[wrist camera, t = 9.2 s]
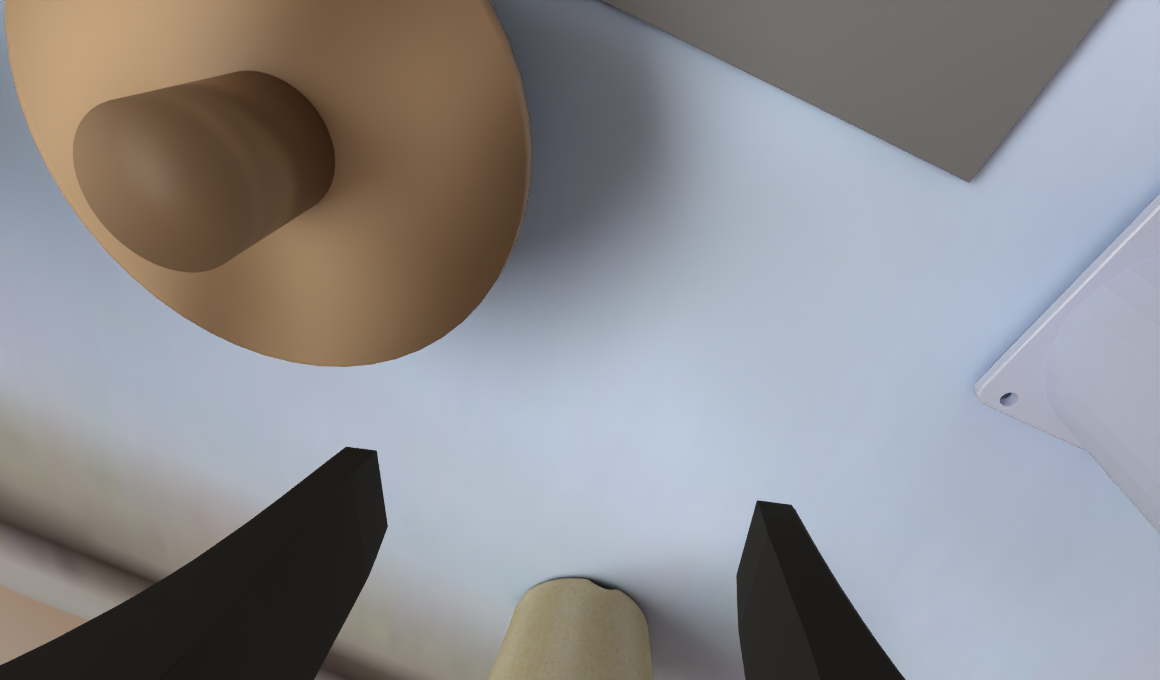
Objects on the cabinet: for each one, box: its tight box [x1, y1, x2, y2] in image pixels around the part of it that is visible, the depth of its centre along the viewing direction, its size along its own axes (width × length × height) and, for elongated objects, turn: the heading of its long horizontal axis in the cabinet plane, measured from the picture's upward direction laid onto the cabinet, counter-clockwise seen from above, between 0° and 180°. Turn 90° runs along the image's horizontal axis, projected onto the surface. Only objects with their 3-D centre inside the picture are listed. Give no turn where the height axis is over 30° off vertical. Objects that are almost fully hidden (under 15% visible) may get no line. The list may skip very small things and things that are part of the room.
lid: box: [5, 0, 532, 367], centre depth 13 cm, size 12×12×4 cm
